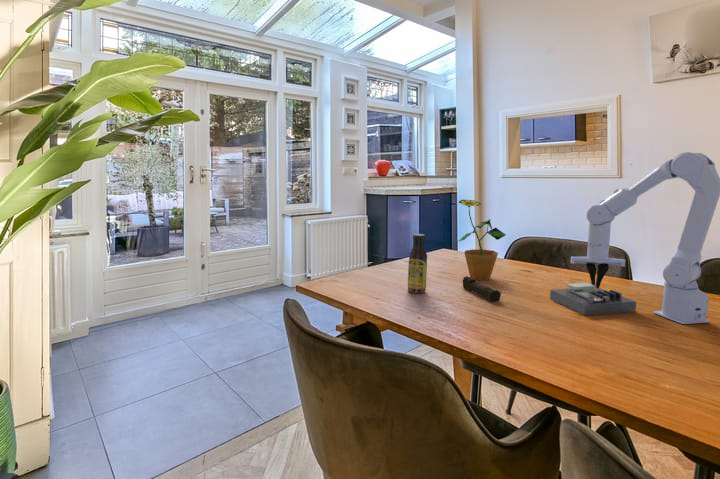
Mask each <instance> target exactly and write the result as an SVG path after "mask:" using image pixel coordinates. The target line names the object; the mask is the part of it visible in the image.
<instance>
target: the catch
mask: <svg viewBox="0 0 720 479" xmlns="http://www.w3.org/2000/svg"><path fill="white" fill-rule="evenodd" d="M565 285H566V288H572V289H574V290H579V289H580V290H582V291H585V292H587V293H591V292H592V291H595V288H596V284H595V285H592V284H591V283H589V282H575V283H566V284H565Z"/></svg>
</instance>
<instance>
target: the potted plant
mask: <svg viewBox="0 0 720 479" xmlns="http://www.w3.org/2000/svg"><path fill="white" fill-rule="evenodd" d="M458 203H459V204H460V205H461V204H462V205H464V206H467V207H468V216H469V221H470V223H471V226H472V229H473V231H471V232H468V233H465V235H463V236H462V237H461V238H460V239H458V240H457V242H461V241H464V240H466V239H467V238H468V237H469V236H471V235H472V234H475V236H476V238H477V240H478V247H479V249H467V250H464V257H465V260H466V265H467V269H468V274H469V277H471V278H473V279H475V280H476V281H477V280H478V281H487V280H490V279H491V276H492V273H493V270H494V268H495V264H496V261H497V258H498V255H499V252H498V251H495V250H489V249H483V247H482V244H481V241H482V240H483V238H484V237H485V236H487V234H488V235H490V236H491V237H492V238H494V239H495V240H496V241H498V240H500V239H502V238H503V237H506V235H507V234H506V233H504V232H503V231H502V230H500V229H498V228H497V227H492V224H491V218H489V219H488V220H486V221H481V222H480V224H478V225H475V226H474V224H473V220H472V216H471V209H470V208H471V207H479V206H480V205H481V204H482V203H481V202H479V201H476V200H474V199H473V200H472V199H471V200H470V199H461V200H459V201H458ZM485 225H487V228H486V232H485V233H484V235H482V236H481V237H480V238H479V235H478V231H477V230H476V228H478V229H482V227H484V226H485ZM489 228H490V230H489Z"/></svg>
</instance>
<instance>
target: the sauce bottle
mask: <svg viewBox="0 0 720 479" xmlns="http://www.w3.org/2000/svg"><path fill="white" fill-rule="evenodd" d="M425 239H426V234H424V233H414V234H413V235H412V240H413V241H412V243H413V244H412V247H411V248H412V249H411V250H410V252H409V257H408V269H407V272H408V273H407V291H408V292H410V293H413V294H422V293H425V292H426V289H427V273H428V270H427V268H428V254H427V252H426V250H425Z"/></svg>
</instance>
